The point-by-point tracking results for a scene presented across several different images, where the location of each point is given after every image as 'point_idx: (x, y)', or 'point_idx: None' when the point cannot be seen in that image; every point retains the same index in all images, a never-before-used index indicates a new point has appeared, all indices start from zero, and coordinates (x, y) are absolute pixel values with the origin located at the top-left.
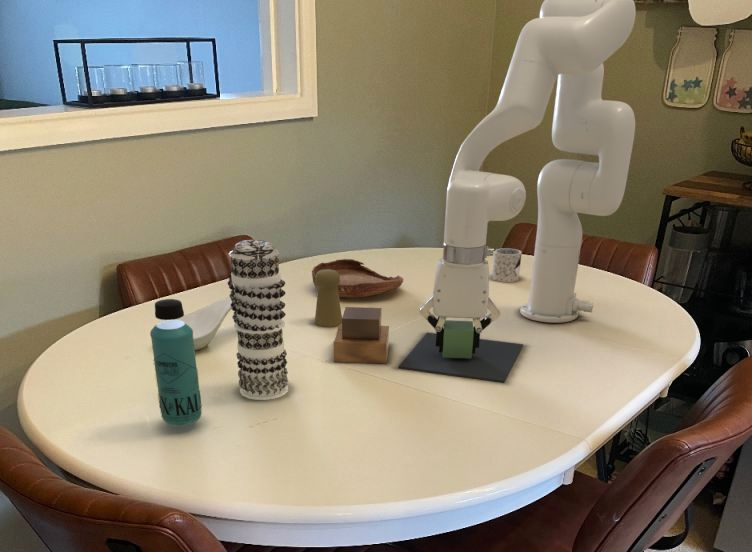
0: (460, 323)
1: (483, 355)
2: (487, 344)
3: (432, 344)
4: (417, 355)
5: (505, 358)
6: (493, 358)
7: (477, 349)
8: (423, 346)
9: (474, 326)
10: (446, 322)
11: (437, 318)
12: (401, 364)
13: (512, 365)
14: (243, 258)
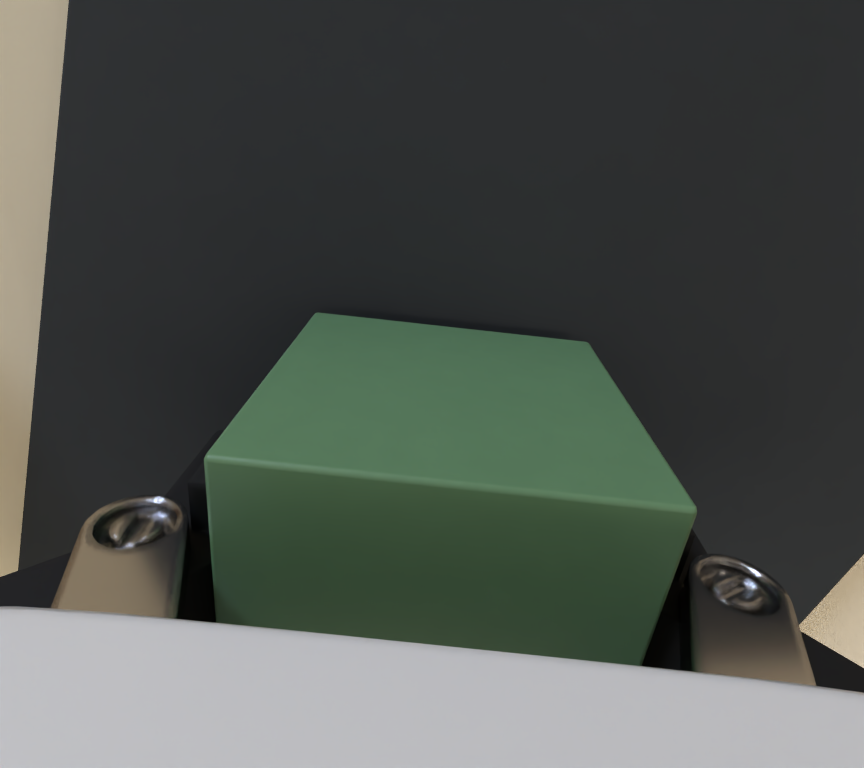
0: (465, 607)
1: (675, 421)
2: (834, 126)
3: (224, 119)
4: (114, 409)
5: (835, 487)
6: (735, 482)
7: (670, 278)
8: (136, 183)
9: (662, 630)
10: (248, 558)
11: (60, 607)
12: (29, 562)
13: (824, 592)
14: None
